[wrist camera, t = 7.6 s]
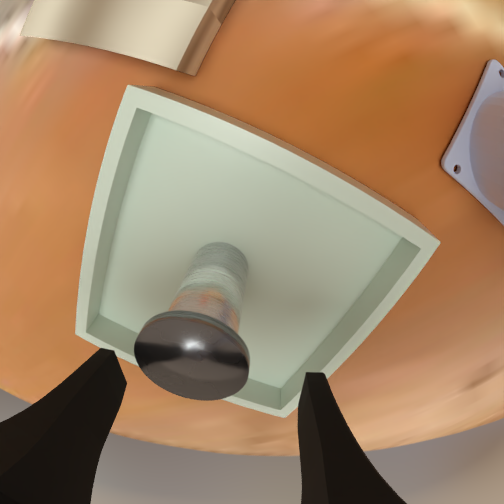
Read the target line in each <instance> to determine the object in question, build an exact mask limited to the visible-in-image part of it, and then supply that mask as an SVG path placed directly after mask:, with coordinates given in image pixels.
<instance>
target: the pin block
mask: <svg viewBox="0 0 504 504" xmlns="http://www.w3.org/2000/svg"><path fill="white" fill-rule="evenodd" d="M234 2H235V0H34V2H33V4H32V7H31V9H30V11H29V13H28V16H27V18H26V21H25V23H24V26H23V28H22V31H21V34H20V36H29V37H38V38H45V39H52V40H58V41H64V42H70V43H75V44H80V45H85V46H90V47H95V48H99V49H104V50H108V51H112V52H116V53H120V54H124V55H127V56H131V57H135V58H138V59H142V60H145V61H149V62H152V63H155V64H158V65H161V66H165V67H168V68H171V69H174V70H177V71H180V72H183V73H186V74H190V75H193V76H195V75H196V73H197V71H198V69H199V67H200V65H201V63H202V61H203V59H204V57H205V55H206V53H207V51H208V49H209V47H210V45H211V43H212V41H213V39H214V37H215V36H216V34H217V32H218V30H219V28H220V26H221V24H222V23H223V21H224V19H225V17H226V15H227V14H228V12H229V10H230V8H231V7H232V5H233V3H234Z"/></svg>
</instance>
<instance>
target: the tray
mask: <svg viewBox="0 0 504 504" xmlns="http://www.w3.org/2000/svg"><path fill="white" fill-rule="evenodd" d="M212 242H224V243H228V244H231V245H233V246H235V247H236V248H238V249H239V250H240V251H241V252H242V253H243V254H244V256H245V257H246V260H247V262H248V267H249V269H248V277H247V283H246V289H245V295H244V301H243V307H242V313H241V319H240V325H239V331H238V335H239V336H240V337H241V338H242V339H243V341H244V342H245V344H246V346H247V348H248V350H249V354H250V368H249V376H248V380H247V382H246V384H245V385H244V387H243V388H242V389H241V390H240V391H239V392H237V393H235V394H234V395H232V396H229V397H227V398H223V399H222V400H225V401H228V402H231V403H234V404H238V405H241V406H244V407H247V408H251V409H254V410H257V411H261V412H264V413H268V414H271V415H275V416H279V417H283V418H285V417H286V416H288V415H289V414H290V413H291V412H292V411H293V410H294V409H295V408H297V407H298V403H299V399H300V395H301V391H302V387H303V383H304V379H305V374H306V372H323V373H324V374H325V375H326V378H328V377H329V376H330V375H331V374H332V373H333V372H334V371H335V370H336V369H337V368H338V367H339V366H340V365H341V364H342V363H343V362H344V361H345V360H346V359H347V358H348V357H349V356H350V355H351V354H352V353H353V352H354V351H355V350H356V348H357V347H358V346H359V345H360V344H361V343H362V342H363V341H364V340H365V339H366V337H367V336H368V335H369V334H370V333H371V332H372V331H373V330H374V328H375V327H376V326H377V325H378V324H379V323H380V321H381V320H382V319H383V318H384V317H385V316H386V314H387V313H388V312H389V311H390V310H391V308H392V307H393V306H394V305H395V303H396V302H397V301H398V300H399V299H400V297H401V296H402V295H403V293H404V292H405V291H406V290H407V288H408V287H409V286H410V284H411V283H412V282H413V281H414V279H415V278H416V277H417V275H418V274H419V273H420V271H421V270H422V268H423V267H424V266H425V264H426V263H427V262H428V260H429V259H430V257H431V256H432V255H433V253H434V252H435V250H436V249H437V247H438V246H439V244H440V243H441V242H440V241H439V240H438V239H437V238H436V237H435V236H434V235H433V234H432V233H431V232H430V231H429V230H428V229H427V228H426V227H425V226H424V225H423V224H422V223H421V222H420V221H419V220H418V219H416V218H415V217H414V216H412V215H411V214H409V213H408V212H406V211H405V210H403V209H402V208H400V207H398V206H397V205H395V204H394V203H392V202H391V201H389V200H388V199H386V198H384V197H383V196H381V195H380V194H378V193H376V192H375V191H373V190H372V189H370V188H368V187H367V186H365V185H363V184H362V183H360V182H358V181H357V180H355V179H353V178H352V177H350V176H348V175H346V174H345V173H343V172H341V171H339V170H338V169H336V168H334V167H332V166H330V165H329V164H327V163H325V162H323V161H321V160H320V159H318V158H316V157H314V156H312V155H310V154H308V153H306V152H304V151H303V150H301V149H299V148H297V147H295V146H293V145H291V144H289V143H287V142H285V141H283V140H281V139H279V138H277V137H275V136H273V135H271V134H268V133H266V132H264V131H262V130H260V129H258V128H256V127H253V126H251V125H249V124H247V123H245V122H242V121H240V120H238V119H236V118H233V117H231V116H229V115H226V114H224V113H222V112H219V111H217V110H215V109H212V108H210V107H207V106H205V105H202V104H200V103H197V102H195V101H192V100H189V99H187V98H184V97H182V96H179V95H176V94H173V93H171V92H168V91H165V90H162V89H159V88H157V87H152V86H140V85H128V86H127V88H126V91H125V93H124V96H123V99H122V102H121V104H120V107H119V110H118V113H117V116H116V119H115V122H114V125H113V128H112V131H111V134H110V137H109V141H108V144H107V147H106V151H105V154H104V158H103V161H102V165H101V169H100V173H99V177H98V181H97V185H96V189H95V193H94V198H93V202H92V207H91V212H90V217H89V222H88V227H87V233H86V239H85V245H84V251H83V258H82V265H81V273H80V281H79V291H78V301H77V314H76V331H75V334H76V335H78V336H80V337H81V338H83V339H85V340H87V341H89V342H90V343H92V344H94V345H96V346H98V347H100V348H105V349H109V350H114V351H115V354H116V356H118V357H120V358H122V359H124V360H126V361H128V362H130V363H132V364H135V365H137V366H139V365H138V363H137V361H136V359H135V355H134V344H135V341H136V339H137V336H138V335H139V333H140V331H141V329H142V327H143V325H144V324H145V323H146V322H147V321H148V320H149V319H150V318H152V317H153V316H155V315H157V314H160V313H163V312H167V311H168V310H169V308H170V305H171V303H172V301H173V299H174V297H175V295H176V293H177V291H178V289H179V287H180V285H181V283H182V280H183V278H184V276H185V274H186V272H187V270H188V268H189V266H190V264H191V262H192V260H193V258H194V256H195V254H196V253H197V251H198V250H199V249H200V248H201V247H203V246H204V245H206V244H209V243H212Z"/></svg>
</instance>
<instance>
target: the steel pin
mask: <svg viewBox="0 0 504 504" xmlns="http://www.w3.org/2000/svg"><path fill="white" fill-rule="evenodd" d="M248 269H249V267H248V262H247V260H246V257H245V256H244V254H243V253H242V252H241V251H240V250H239V249H238V248H236V247H235V246H233V245H231V244H228V243H224V242H212V243H209V244H206V245H204V246H203V247H201V248H200V249H199V250H198V251H197V253H196V254H195V256H194V258H193V260H192V262H191V264H190V266H189V268H188V270H187V272H186V274H185V276H184V278H183V280H182V283H181V285H180V287H179V289H178V291H177V293H176V295H175V297H174V299H173V301H172V303H171V305H170V308H169V310H168V311H167V312H163V313H160V314H157V315H155V316H153V317H152V318H150V319H149V320H148V321H147V322H146V323H145V324H144V325H143V327H142V329H141V331H140V333H139V335H138V336H137V339H136V341H135V344H134V355H135V359H136V361H137V363H138V365H139V367H140V368H141V370H142V371H143V372H144V374H145V375H146V376H147V377H148V378H149V379H150V380H152V381H153V382H154V383H155V384H157V385H158V386H160V387H161V388H163V389H165V390H167V391H169V392H171V393H173V394H176V395H178V396H181V397H185V398H189V399H195V400H218V399H223V398H227V397H229V396H232V395H234V394H235V393H237V392H239V391H240V390H241V389H242V388H243V387H244V385H245V384H246V382H247V380H248V376H249V368H250V354H249V350H248V348H247V346H246V344H245V342H244V341H243V339H242V338H241V337H240V336H239V335H238V331H239V325H240V319H241V313H242V307H243V301H244V295H245V289H246V283H247V277H248Z"/></svg>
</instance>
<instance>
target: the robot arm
mask: <svg viewBox="0 0 504 504" xmlns="http://www.w3.org/2000/svg"><path fill="white" fill-rule="evenodd" d="M499 71H500V72H501V76H500V74H499ZM441 165H442V168H443V169H444V171H446V172H447V173H448V174H449V175H450V176H452V177H453V178H454V179H455V180H456V181H457V182H459V183H460V184H461V185H462V186H463V187H464V188H465V189H466V190H468V191H469V192H470V193H471V194H472V195H473V196H474V197H475V198H476V199H477V200H478V201H479V202H480V203H481V204H482V205H484V206H485V207H486V208H487V209H488V210H489V211H490V212H491V213H492V214H493V215H494V216H495V217H496V218H497V219H498V220H499V222H500V223H501V224H502V225H503V226H504V67H503V66H502V65H501V64H500V63H499V62H498V61H497V60H489V61H488V63H487V65H486V68H485V70H484V73H483V75H482V78H481V80H480V82H479V85H478V87H477V89H476V91H475V94H474V96H473V98H472V100H471V102H470V105H469V107H468V109H467V111H466V113H465V115H464V117H463V119H462V121H461V123H460V125H459V127H458V129H457V131H456V133H455V135H454V137H453V139H452V141H451V143H450V145H449V147H448V148H447V150H446V152H445V154H444V156H443V158H442V160H441ZM455 165H457V171H456V172H454V166H455ZM126 385H127V382H126V379H125V377H124V375H123V372H122V370H121V367H120V364H119V362H118V359H117V357H116V354H115V351H114V350H109V349H105V348H100V349H99V350H98V351H97V352H96V353H95V354H93V355H92V356H91V357H90V358H89V359H88V360H87V361H86V362H85V363H83V364H82V365H81V366H80V367H79V368H78V369H77V370H76V371H74V372H73V373H72V374H71V375H70V376H69V377H68V378H66V379H65V380H64V381H63V382H62V383H61V384H59V385H58V386H57V387H56V388H54V389H53V390H52V391H51V392H49V393H48V394H47V395H46V396H44V397H43V398H42V399H40V400H39V401H37V402H36V403H34V404H33V405H32V406H30V407H28V408H27V409H25V410H24V411H22V412H20V413H18V414H16V415H14V416H13V417H11V418H9V419H7V420H5V421H3V422H0V504H90V502H91V495H92V488H93V483H94V478H95V474H96V469H97V465H98V462H99V458H100V454H101V451H102V448H103V446H104V443H105V441H106V439H107V436H108V434H109V432H110V429H111V427H112V425H113V422H114V420H115V418H116V415H117V413H118V411H119V408H120V406H121V403H122V399H123V396H124V392H125V389H126ZM298 438H299V450H300V462H301V474H302V499H301V500H302V501H301V504H407V503H405V502H404V501H403V500H402V499H401V498H400V497H399V496H398V495H397V493H396V492H395V491H393V489H392V488H391V487H390V486H389V485H388V483H386V481H385V480H384V479H383V478H382V477H381V475H380V474H379V473H378V472H377V470H376V469H375V467H374V466H373V465H372V463H371V462H370V461H369V459H368V458H367V456H366V455H365V453H364V452H363V450H362V449H361V447H360V446H359V444H358V442H357V441H356V439H355V437H354V436H353V434H352V432H351V430H350V429H349V427H348V425H347V423H346V421H345V419H344V417H343V415H342V413H341V411H340V409H339V407H338V405H337V403H336V400H335V398H334V396H333V393H332V391H331V389H330V386H329V383H328V381H327V378H326V375H325V374H324V373H323V372H306V374H305V379H304V383H303V387H302V391H301V395H300V399H299V403H298Z"/></svg>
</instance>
